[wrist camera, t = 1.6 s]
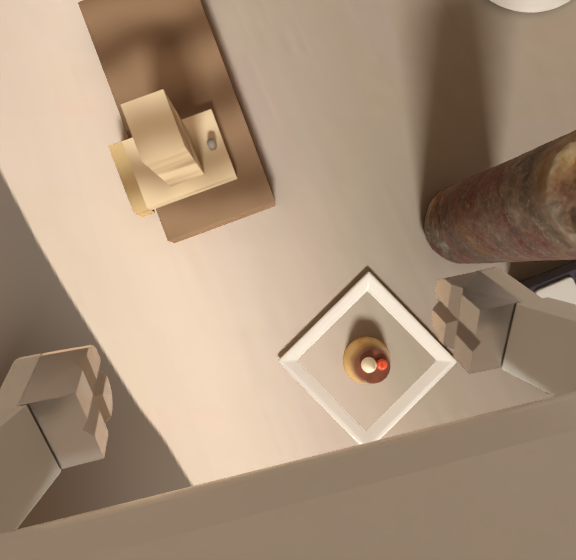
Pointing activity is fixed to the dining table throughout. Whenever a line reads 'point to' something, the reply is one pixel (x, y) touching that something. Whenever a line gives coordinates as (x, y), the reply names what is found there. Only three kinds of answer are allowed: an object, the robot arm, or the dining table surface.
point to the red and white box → (555, 283)
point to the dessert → (368, 361)
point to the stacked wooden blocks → (168, 154)
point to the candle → (510, 210)
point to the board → (180, 97)
